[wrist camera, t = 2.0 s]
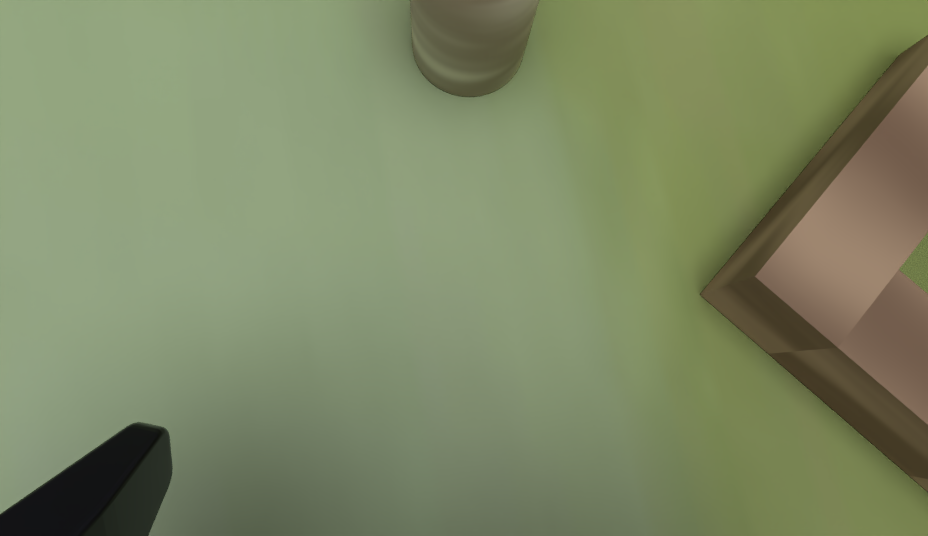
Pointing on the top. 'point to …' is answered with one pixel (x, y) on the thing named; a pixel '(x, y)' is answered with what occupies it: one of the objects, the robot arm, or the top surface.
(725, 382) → the top surface
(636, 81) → the top surface
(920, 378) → the brown rectangular frame
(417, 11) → the peg
